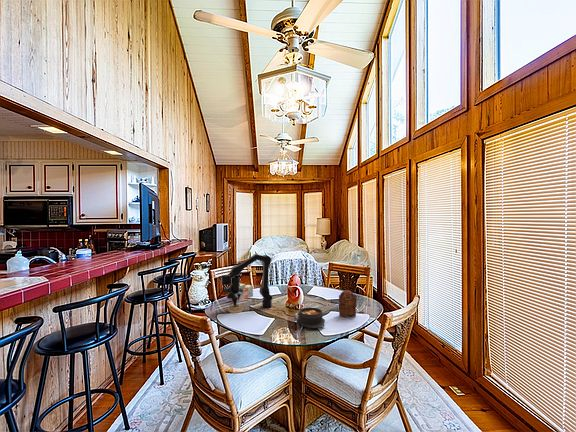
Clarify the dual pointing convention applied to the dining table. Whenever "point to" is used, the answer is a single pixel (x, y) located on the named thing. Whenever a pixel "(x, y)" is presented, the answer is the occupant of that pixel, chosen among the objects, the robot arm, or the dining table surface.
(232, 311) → the wooden bead
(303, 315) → the casserole
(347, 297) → the wooden figurine
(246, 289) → the stack of blocks
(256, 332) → the dining table surface
